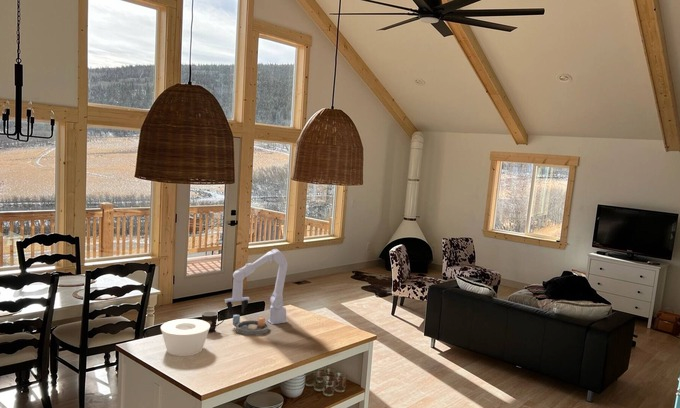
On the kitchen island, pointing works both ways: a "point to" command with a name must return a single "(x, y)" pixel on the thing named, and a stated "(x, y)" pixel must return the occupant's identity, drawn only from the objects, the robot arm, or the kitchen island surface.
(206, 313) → the coffee mug
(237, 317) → the slate bead
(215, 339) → the kitchen island surface
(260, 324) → the terracotta bead
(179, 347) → the bowl
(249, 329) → the groove tray
